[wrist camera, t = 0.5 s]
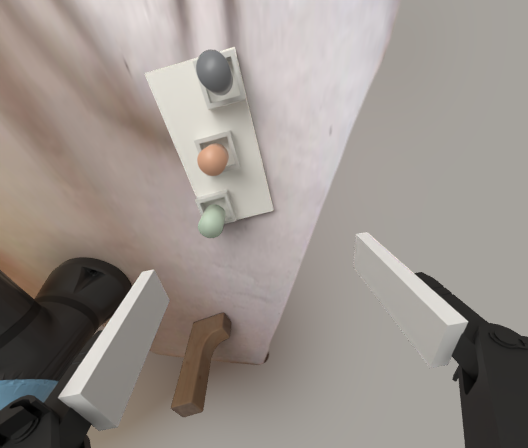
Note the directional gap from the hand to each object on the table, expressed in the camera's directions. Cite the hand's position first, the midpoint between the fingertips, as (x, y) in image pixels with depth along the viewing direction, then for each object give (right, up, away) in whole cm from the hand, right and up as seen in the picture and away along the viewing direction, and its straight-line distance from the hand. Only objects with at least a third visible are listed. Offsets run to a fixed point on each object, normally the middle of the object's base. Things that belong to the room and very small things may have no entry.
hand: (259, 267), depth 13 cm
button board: (-7, +15, +21) cm, 27 cm away
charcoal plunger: (-5, +22, +13) cm, 26 cm away
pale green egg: (-8, +5, +22) cm, 23 cm away
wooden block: (-13, -23, +40) cm, 48 cm away
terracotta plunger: (-7, +13, +17) cm, 23 cm away
